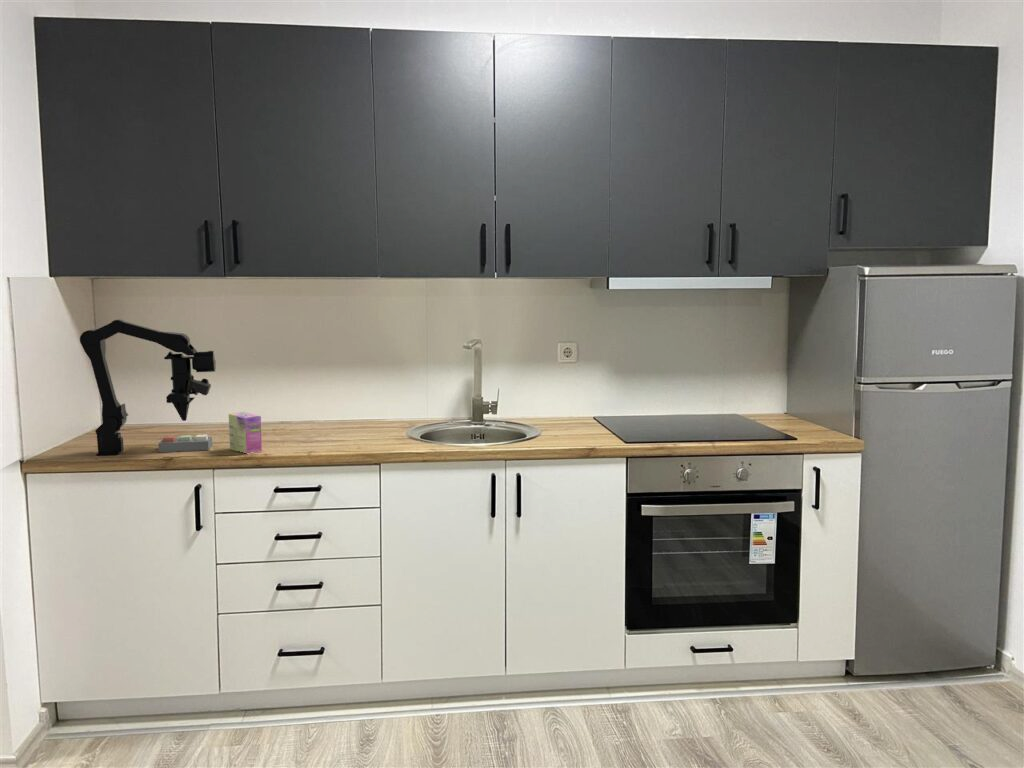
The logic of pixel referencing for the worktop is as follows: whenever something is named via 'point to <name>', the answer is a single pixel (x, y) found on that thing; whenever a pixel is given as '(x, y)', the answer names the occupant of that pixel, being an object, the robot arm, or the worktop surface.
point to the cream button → (201, 437)
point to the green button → (185, 438)
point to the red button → (169, 439)
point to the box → (245, 432)
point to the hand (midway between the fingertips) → (184, 420)
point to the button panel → (185, 445)
